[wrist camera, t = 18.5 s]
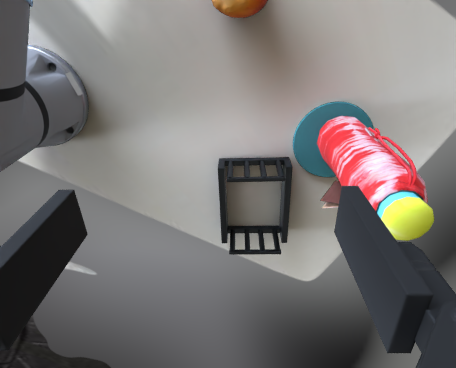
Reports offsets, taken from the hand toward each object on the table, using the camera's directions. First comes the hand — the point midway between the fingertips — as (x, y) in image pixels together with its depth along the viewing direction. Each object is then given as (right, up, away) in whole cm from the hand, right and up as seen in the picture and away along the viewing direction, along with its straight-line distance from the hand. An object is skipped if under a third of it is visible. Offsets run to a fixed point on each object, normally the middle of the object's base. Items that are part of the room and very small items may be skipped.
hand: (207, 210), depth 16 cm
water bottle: (+18, +8, +36) cm, 41 cm away
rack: (+6, -1, +42) cm, 42 cm away
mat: (+18, +9, +37) cm, 42 cm away
